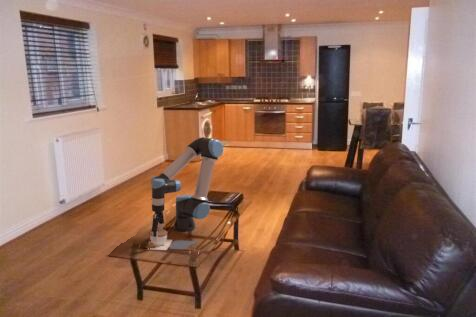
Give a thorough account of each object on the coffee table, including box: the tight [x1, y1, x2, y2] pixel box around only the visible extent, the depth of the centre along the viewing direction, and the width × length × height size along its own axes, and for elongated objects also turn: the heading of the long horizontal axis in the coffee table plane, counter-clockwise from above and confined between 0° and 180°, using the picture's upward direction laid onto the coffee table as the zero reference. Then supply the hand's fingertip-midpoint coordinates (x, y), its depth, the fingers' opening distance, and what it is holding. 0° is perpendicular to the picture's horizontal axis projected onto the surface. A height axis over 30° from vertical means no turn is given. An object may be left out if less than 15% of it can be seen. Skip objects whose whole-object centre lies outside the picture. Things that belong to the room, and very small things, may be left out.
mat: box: [169, 239, 197, 251], centre depth 255 cm, size 14×14×1 cm
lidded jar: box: [149, 228, 168, 246], centre depth 255 cm, size 11×11×9 cm
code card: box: [147, 238, 173, 251], centre depth 256 cm, size 17×14×1 cm
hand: (157, 237), depth 255 cm, fingers open, 13 cm apart
